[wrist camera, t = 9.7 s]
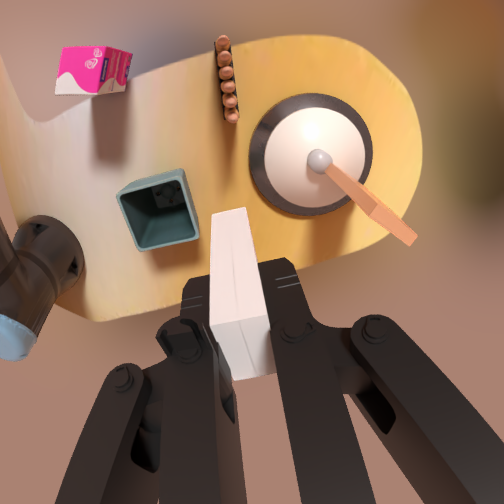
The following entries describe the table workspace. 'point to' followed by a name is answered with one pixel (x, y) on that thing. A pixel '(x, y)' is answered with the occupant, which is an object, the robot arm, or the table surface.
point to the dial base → (269, 123)
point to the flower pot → (159, 210)
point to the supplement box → (92, 70)
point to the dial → (324, 165)
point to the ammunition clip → (226, 79)
